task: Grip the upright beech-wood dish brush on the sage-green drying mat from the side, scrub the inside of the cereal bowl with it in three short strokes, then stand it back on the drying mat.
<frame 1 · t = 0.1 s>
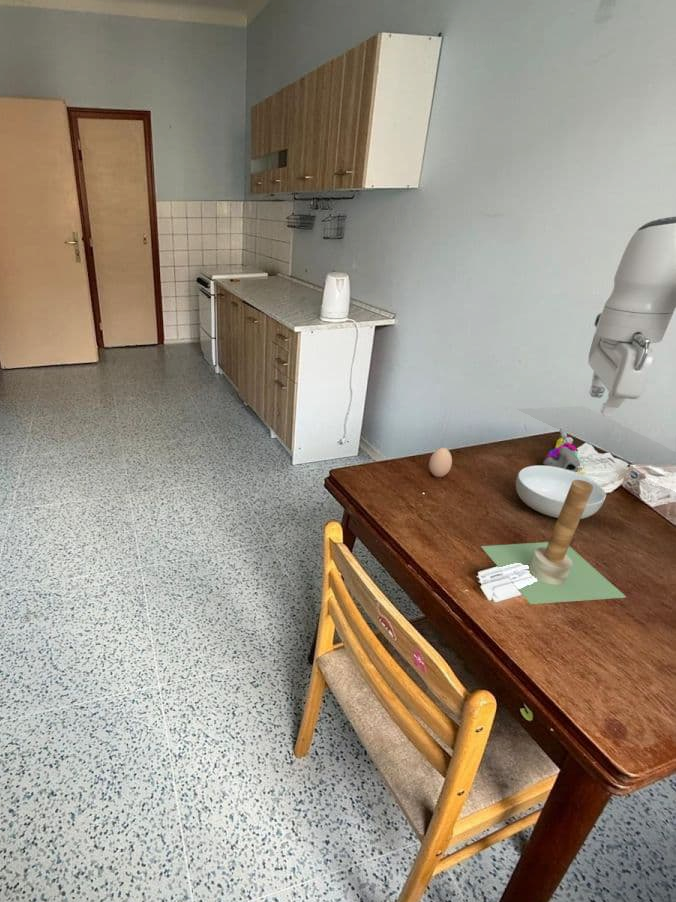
hand: (600, 405, 84), 31 cm above the table, tool pointing down, fingers open, 8 cm apart
egg: (437, 476, 123), on the table
dish brush: (546, 573, 90), point 1 cm above the table, touching drying mat
cereal bowl: (550, 509, 109), on the table
drying mat: (547, 572, 91), on the table
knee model: (561, 462, 129), on the table
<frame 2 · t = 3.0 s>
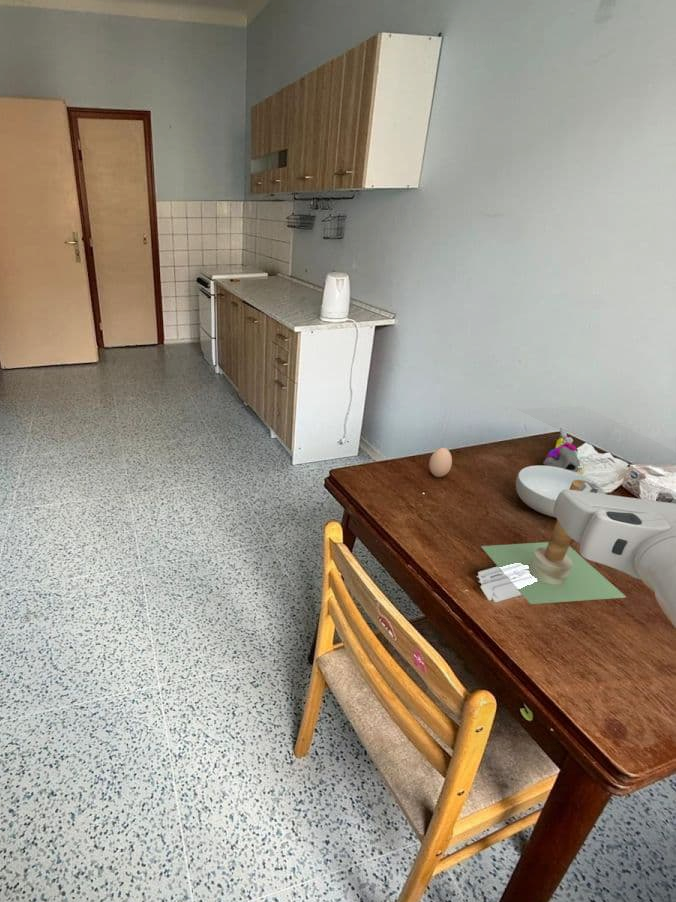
hand: (624, 491, 68), 26 cm above the table, tool horizontal, fingers open, 8 cm apart
nothing on the table moved.
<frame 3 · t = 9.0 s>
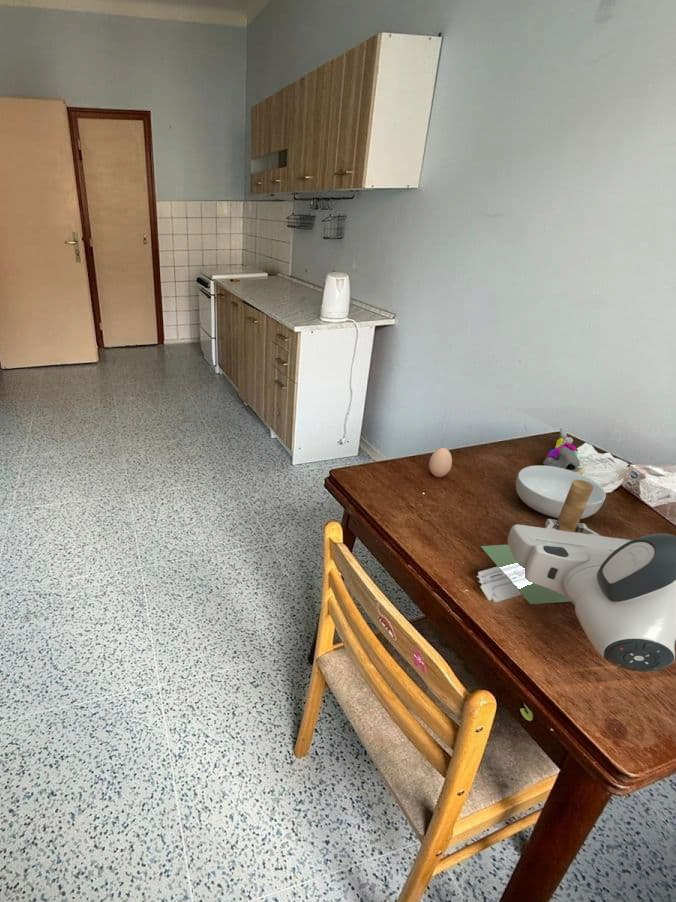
hand: (564, 524, 85), 12 cm above the table, tool horizontal, fingers closed on dish brush, 3 cm apart
dish brush: (547, 573, 90), point 1 cm above the table, touching drying mat, gripper
everything else where it was.
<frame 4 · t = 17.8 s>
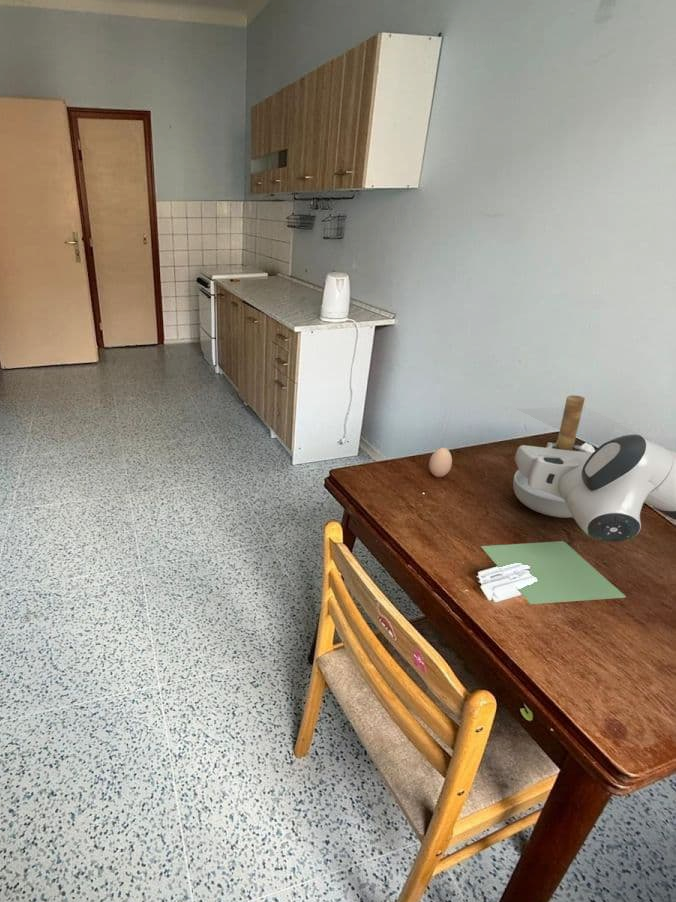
hand: (562, 446, 103), 16 cm above the table, tool horizontal, fingers closed on dish brush, 3 cm apart
dish brush: (557, 481, 106), point 8 cm above the table, tilted 7°, touching cereal bowl, gripper
cereal bowl: (551, 507, 109), on the table, touching dish brush
everything else where it was.
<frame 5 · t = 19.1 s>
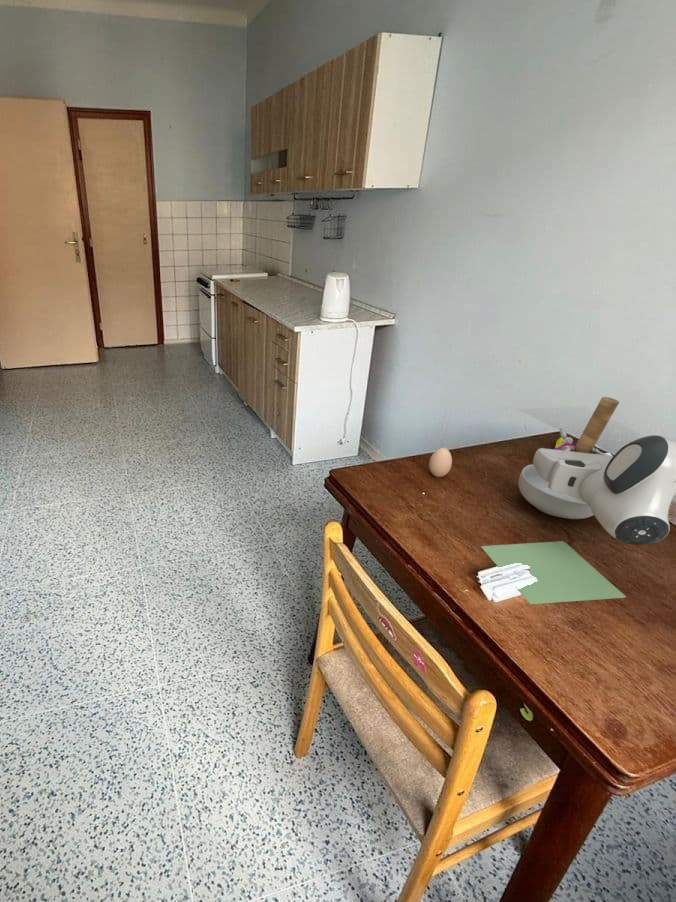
hand: (579, 449, 103), 15 cm above the table, tool horizontal, fingers closed on dish brush, 3 cm apart
dish brush: (564, 481, 105), point 8 cm above the table, tilted 7°, touching cereal bowl, gripper
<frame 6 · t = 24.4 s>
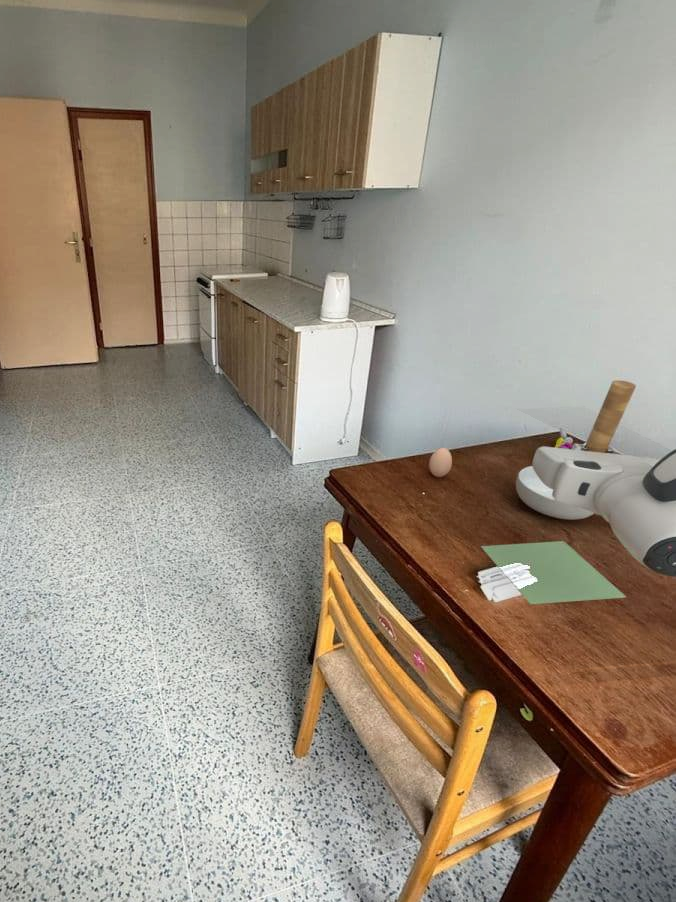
hand: (591, 449, 81), 26 cm above the table, tool horizontal, fingers closed on dish brush, 3 cm apart
dish brush: (577, 488, 84), point 18 cm above the table, touching gripper
cereal bowl: (550, 509, 109), on the table
everything else where it was.
when the fingers open (9 cm above the table, at t = 29.4 s): dish brush stays where it is, resting on drying mat.
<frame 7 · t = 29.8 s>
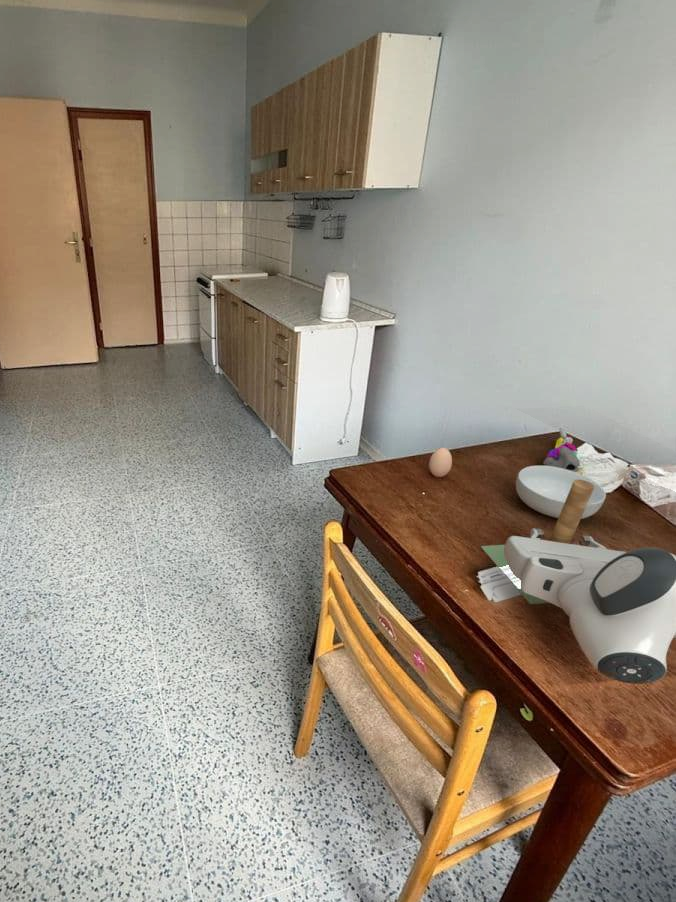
hand: (559, 535, 86), 9 cm above the table, tool horizontal, fingers open, 6 cm apart
dish brush: (546, 572, 90), point 1 cm above the table, touching drying mat
everything else where it was.
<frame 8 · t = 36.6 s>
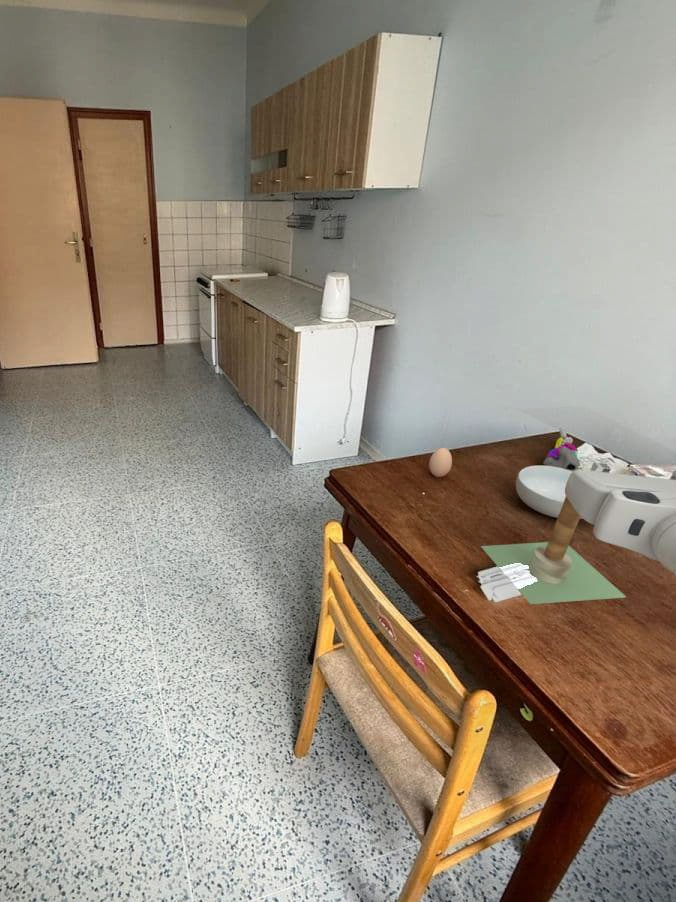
hand: (636, 471, 66), 30 cm above the table, tool horizontal, fingers open, 8 cm apart
nothing on the table moved.
at the end: dish brush inside the target area on the drying mat (1.2 cm from its centre), point 0.6 cm above the drying mat's base; dish brush tilted 0°; cereal bowl moved 0.2 cm from its start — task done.
